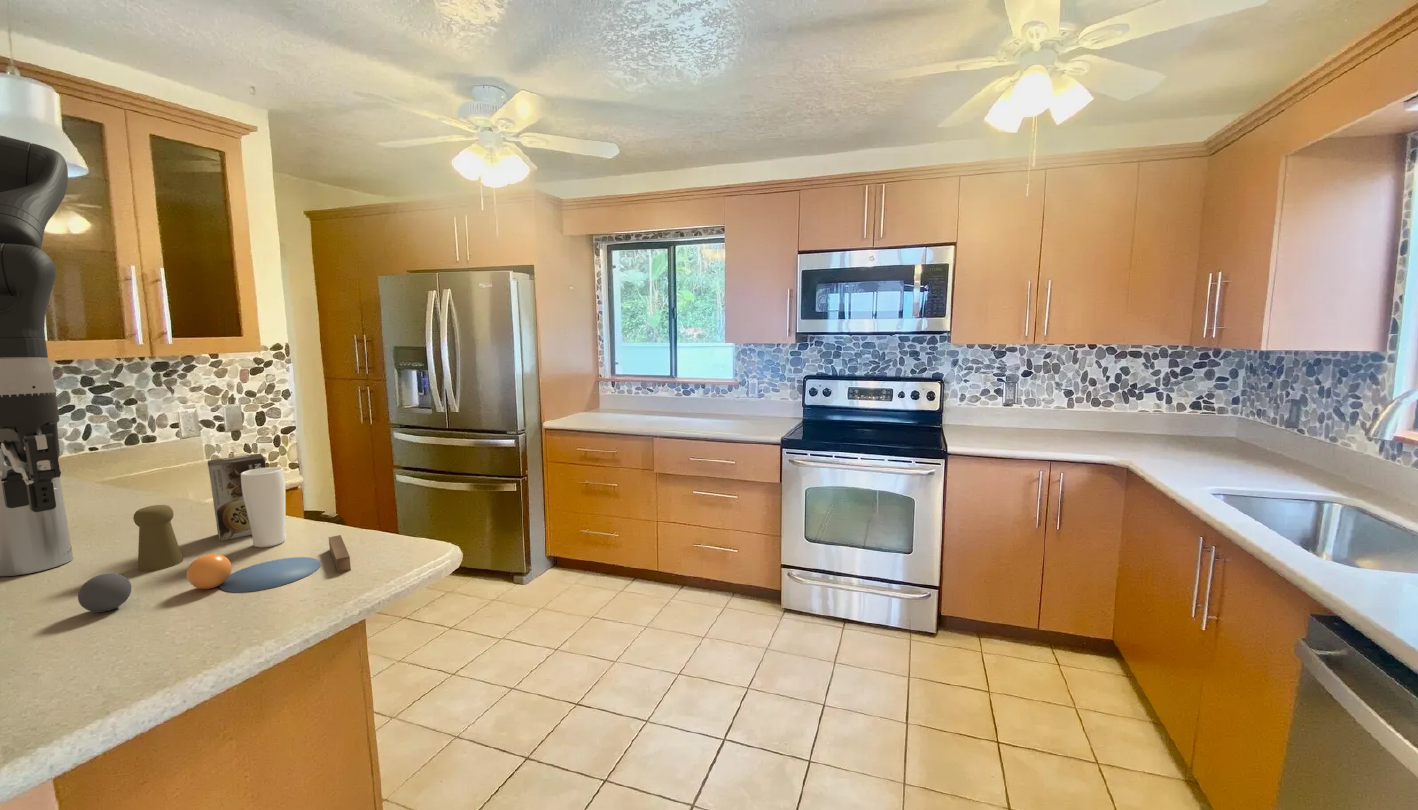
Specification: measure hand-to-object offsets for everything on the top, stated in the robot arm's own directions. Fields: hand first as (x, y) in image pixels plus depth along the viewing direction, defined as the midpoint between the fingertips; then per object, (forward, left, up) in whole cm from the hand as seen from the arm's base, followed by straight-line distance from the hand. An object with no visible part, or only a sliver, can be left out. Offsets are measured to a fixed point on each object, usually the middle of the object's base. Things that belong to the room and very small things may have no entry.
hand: (30, 508), depth 78 cm
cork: (+9, +23, -18) cm, 31 cm away
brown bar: (+35, +4, -18) cm, 40 cm away
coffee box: (+21, +35, -18) cm, 45 cm away
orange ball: (+17, +4, -15) cm, 23 cm away
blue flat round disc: (+25, +4, -18) cm, 31 cm away
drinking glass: (+25, +23, -18) cm, 38 cm away
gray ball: (+5, +4, -15) cm, 16 cm away
